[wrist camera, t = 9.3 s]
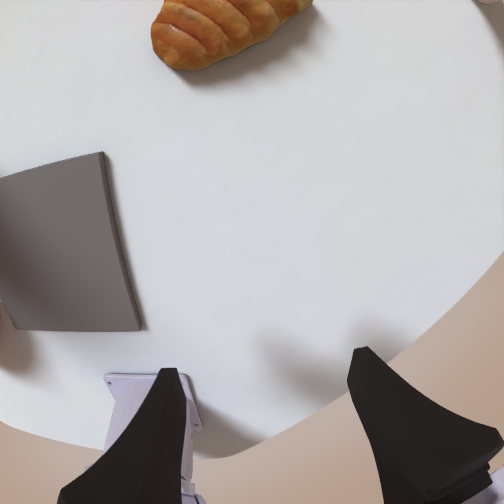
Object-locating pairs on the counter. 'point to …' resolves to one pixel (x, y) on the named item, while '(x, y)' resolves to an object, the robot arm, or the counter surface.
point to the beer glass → (487, 1)
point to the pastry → (215, 28)
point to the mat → (63, 250)
